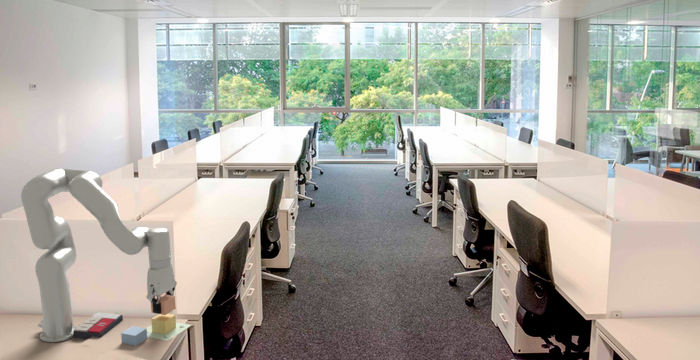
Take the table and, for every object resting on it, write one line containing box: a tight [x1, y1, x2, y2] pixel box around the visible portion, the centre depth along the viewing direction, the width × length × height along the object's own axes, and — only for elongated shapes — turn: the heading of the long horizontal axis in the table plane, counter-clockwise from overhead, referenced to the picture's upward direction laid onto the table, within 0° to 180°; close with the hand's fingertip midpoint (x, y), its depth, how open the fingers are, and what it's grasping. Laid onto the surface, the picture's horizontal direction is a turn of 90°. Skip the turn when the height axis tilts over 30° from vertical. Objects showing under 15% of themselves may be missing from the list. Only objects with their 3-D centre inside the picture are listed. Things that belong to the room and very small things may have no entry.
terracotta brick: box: [150, 293, 177, 315], centre depth 218 cm, size 6×6×5 cm
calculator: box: [73, 311, 124, 340], centre depth 222 cm, size 11×4×15 cm
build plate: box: [146, 321, 192, 342], centre depth 220 cm, size 14×14×1 cm
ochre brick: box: [150, 313, 177, 334], centre depth 220 cm, size 6×6×5 cm
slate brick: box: [120, 325, 148, 347], centre depth 212 cm, size 6×6×5 cm
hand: (163, 309), depth 219 cm, fingers closed on terracotta brick, 6 cm apart
